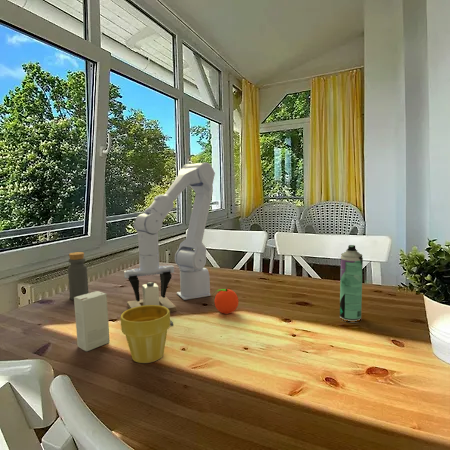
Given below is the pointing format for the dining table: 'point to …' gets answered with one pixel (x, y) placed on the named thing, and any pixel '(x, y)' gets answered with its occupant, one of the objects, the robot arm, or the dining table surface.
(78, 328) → the skincare box
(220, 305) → the clementine
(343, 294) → the spray can
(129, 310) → the plant pot
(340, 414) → the dining table surface
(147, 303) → the plug
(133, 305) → the holder
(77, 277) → the bottle
